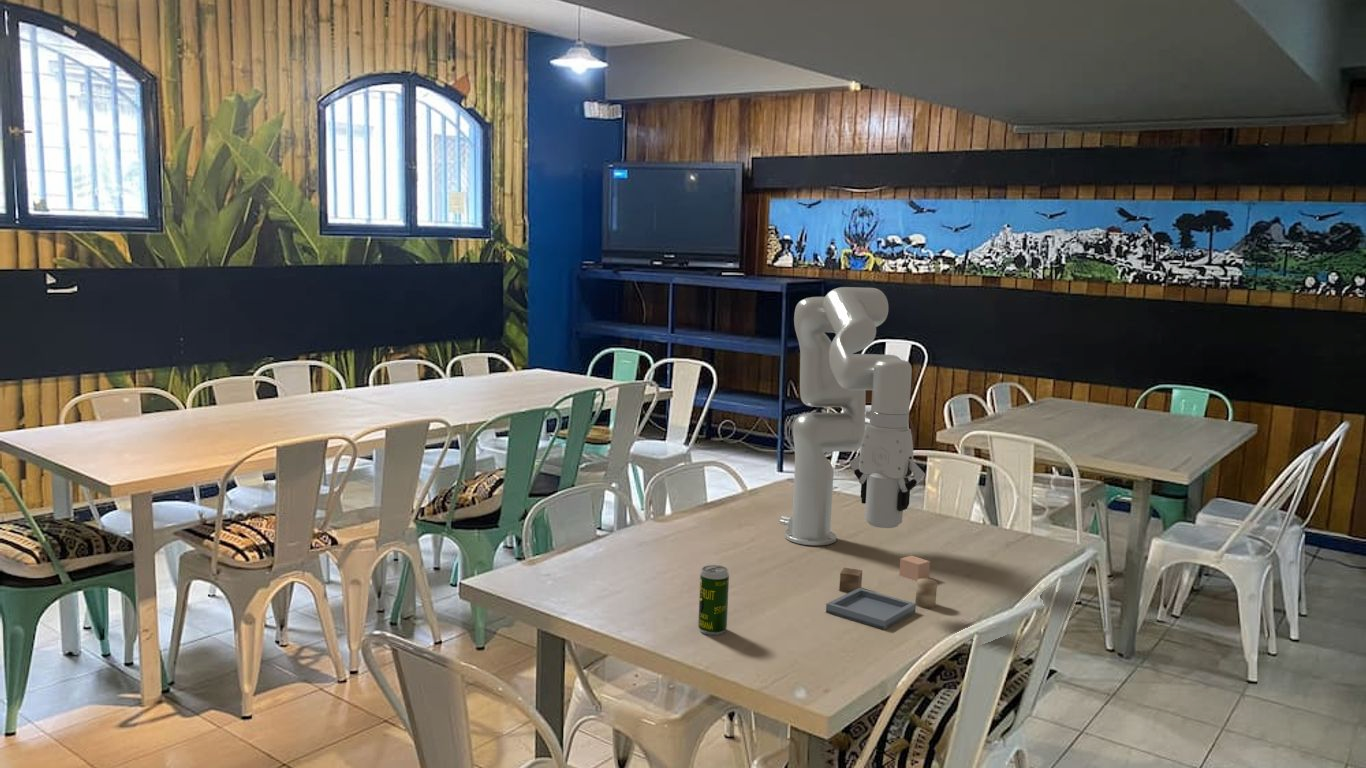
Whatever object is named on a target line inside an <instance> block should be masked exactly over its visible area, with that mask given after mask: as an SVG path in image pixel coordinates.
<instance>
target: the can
mask: <svg viewBox="0 0 1366 768" xmlns="http://www.w3.org/2000/svg"><path fill="white" fill-rule="evenodd" d="M875 470H876V471H877V472H876V473H872V474H869V475H867V490H866V503H865V511H864V520H865V521H866V522H867V523H868V524H869V525H870V526H872V527H874V528H882V529H894V528H897V527H898V526H899V525H901V524H902V523H903V516H904V515H903V514H904V510H903V511H898V510H897V507H898V493H899V492H900V491H901V488H900V486H899V483H898V480H894V479H891V478H889V477H887V476H886V475H885V474H883V472H885V471H884V470H878V469H875Z"/></svg>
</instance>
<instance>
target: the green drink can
mask: <svg viewBox="0 0 1366 768" xmlns="http://www.w3.org/2000/svg"><path fill="white" fill-rule="evenodd" d="M699 576H700V578H699V595H698V596H699V598H698V622H697V623H698V624H697V625H698V627H697V628H698V629H699V632H700V633H701V634H705V635H706V636H707V635H708V636H720V635H723V634H725V632H726V630H727V628H728V627H727V626H728V608H729V607H728V605H729V589H730V588H729V587H730V586H729V585H730V582H729V581H730V575H729V569H728V568H727V567H726V566H722V565H716V564H711V565H710V564H708V565H706V566H702V567H701V571H700V575H699Z"/></svg>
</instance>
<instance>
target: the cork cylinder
mask: <svg viewBox="0 0 1366 768" xmlns="http://www.w3.org/2000/svg"><path fill="white" fill-rule="evenodd" d="M937 588H938V582H937V581H936V580H935V579H932V578H928V579H927V578H921V579H918V580H917V581H916V593H915V604H916V606H917V607H919V608H923V609H934V608H936V602H937V592H938V591H937Z"/></svg>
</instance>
